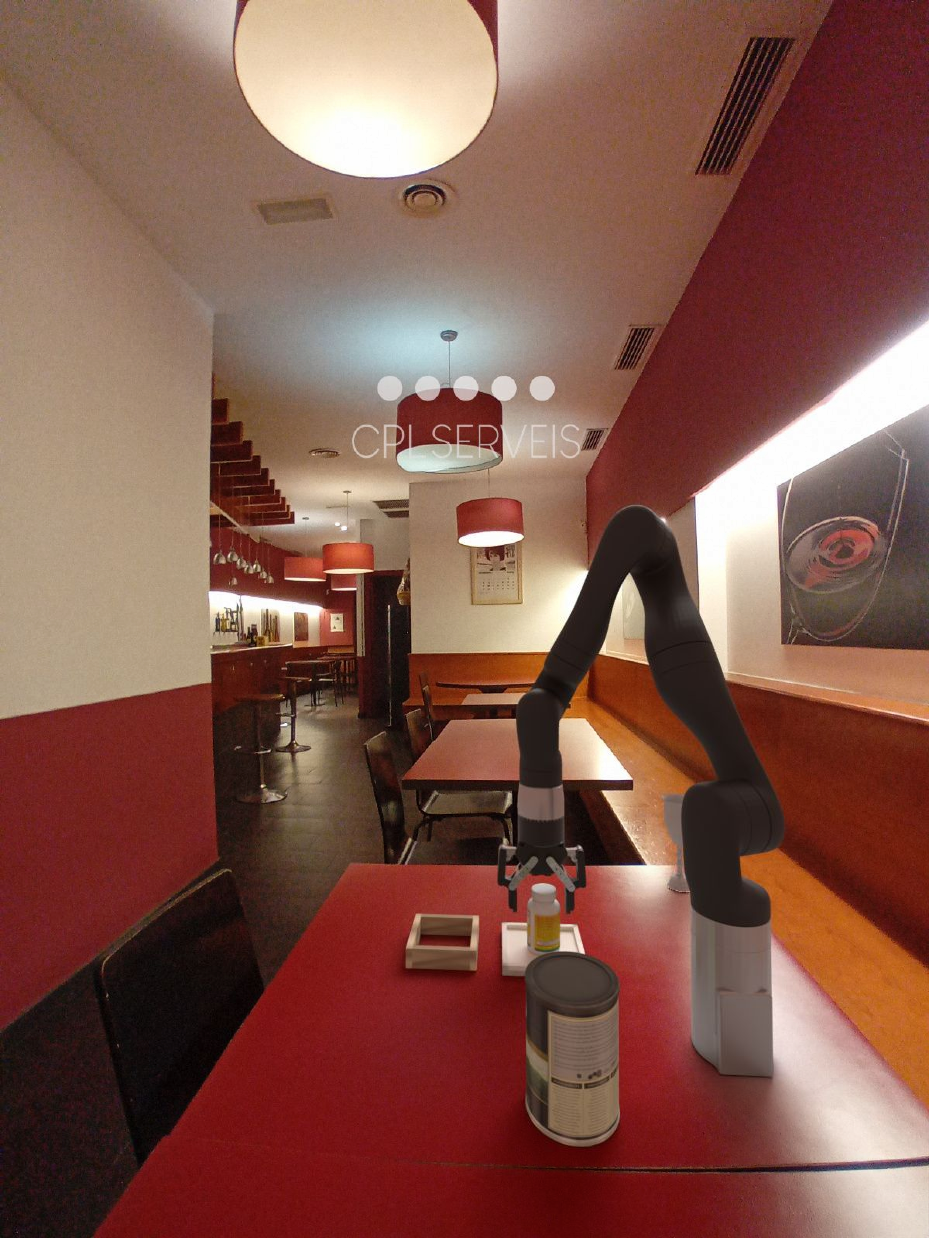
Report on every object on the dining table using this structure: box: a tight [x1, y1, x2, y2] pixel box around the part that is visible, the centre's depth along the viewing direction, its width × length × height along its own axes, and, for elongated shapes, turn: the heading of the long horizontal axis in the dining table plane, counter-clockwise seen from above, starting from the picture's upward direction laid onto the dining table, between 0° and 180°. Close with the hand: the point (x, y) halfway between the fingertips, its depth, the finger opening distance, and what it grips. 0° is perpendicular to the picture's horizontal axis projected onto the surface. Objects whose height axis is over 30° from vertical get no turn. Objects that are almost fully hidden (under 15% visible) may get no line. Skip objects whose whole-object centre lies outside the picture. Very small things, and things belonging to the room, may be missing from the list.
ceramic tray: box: [501, 921, 586, 977], centre depth 93 cm, size 13×13×2 cm
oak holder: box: [405, 913, 480, 972], centre depth 94 cm, size 11×11×3 cm
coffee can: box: [524, 951, 621, 1148], centre depth 63 cm, size 10×10×14 cm
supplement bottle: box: [526, 882, 561, 955], centre depth 93 cm, size 5×5×10 cm
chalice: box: [661, 793, 690, 892], centre depth 117 cm, size 7×7×18 cm
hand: (541, 911), depth 92 cm, fingers open, 8 cm apart
